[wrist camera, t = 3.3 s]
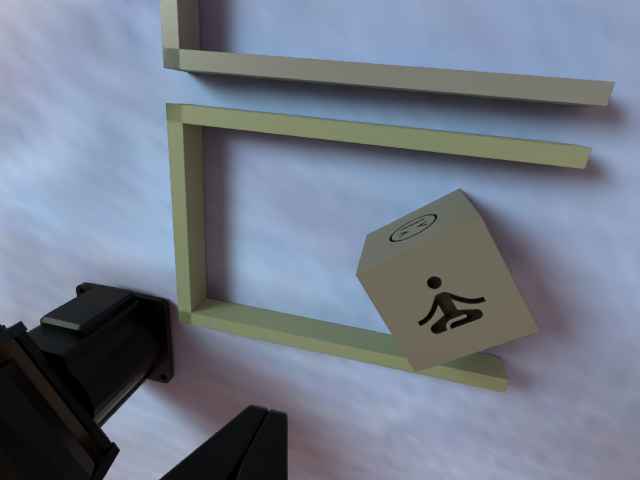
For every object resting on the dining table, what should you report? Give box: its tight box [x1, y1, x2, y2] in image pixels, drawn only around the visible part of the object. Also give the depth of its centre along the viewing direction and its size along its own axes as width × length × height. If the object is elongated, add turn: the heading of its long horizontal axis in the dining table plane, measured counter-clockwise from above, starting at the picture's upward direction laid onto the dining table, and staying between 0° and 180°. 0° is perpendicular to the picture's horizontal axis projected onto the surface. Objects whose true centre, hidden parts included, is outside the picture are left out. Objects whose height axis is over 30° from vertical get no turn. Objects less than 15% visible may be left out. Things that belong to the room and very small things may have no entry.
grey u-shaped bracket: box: [166, 103, 592, 393], centre depth 18 cm, size 12×18×2 cm, turn 85°
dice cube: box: [356, 189, 539, 373], centre depth 16 cm, size 5×5×5 cm
